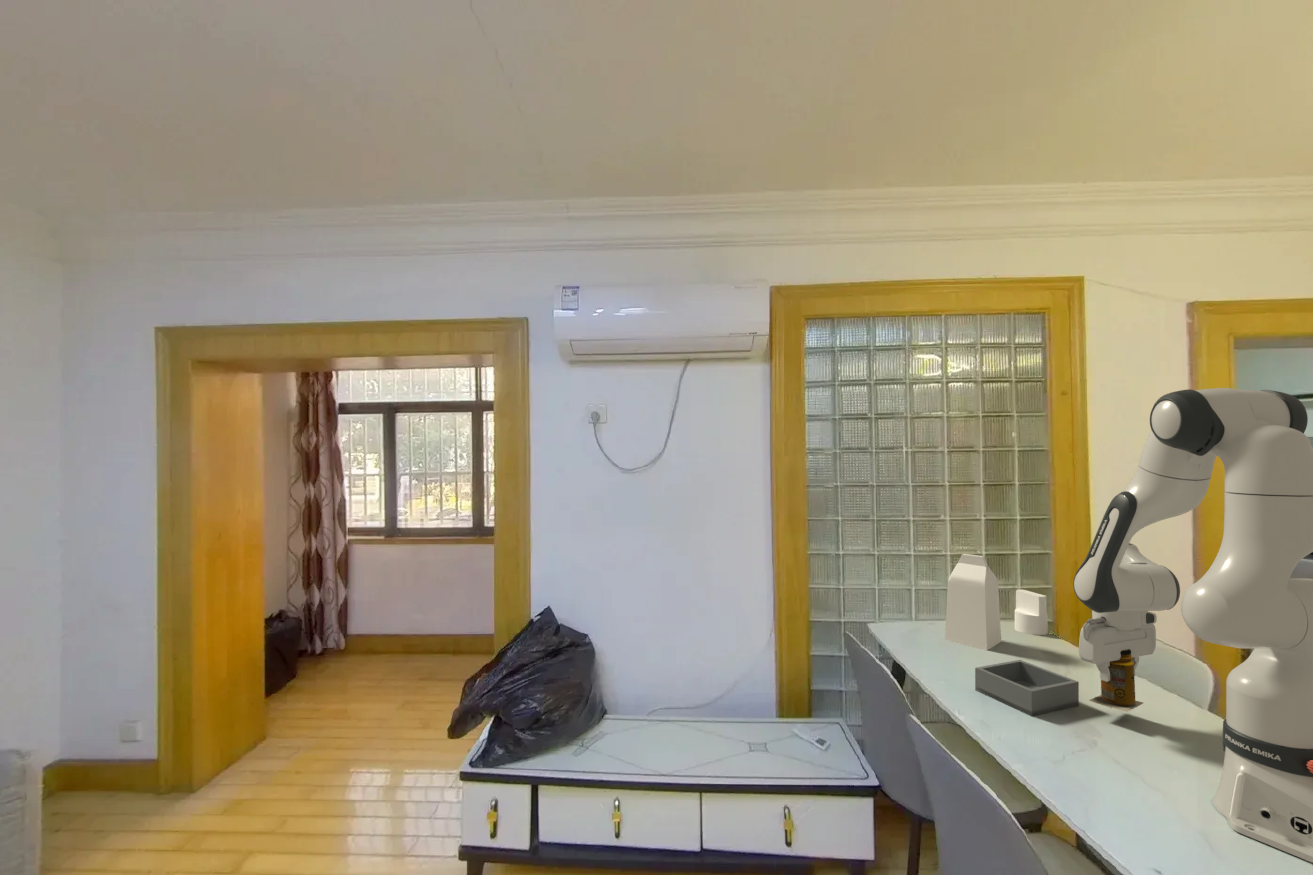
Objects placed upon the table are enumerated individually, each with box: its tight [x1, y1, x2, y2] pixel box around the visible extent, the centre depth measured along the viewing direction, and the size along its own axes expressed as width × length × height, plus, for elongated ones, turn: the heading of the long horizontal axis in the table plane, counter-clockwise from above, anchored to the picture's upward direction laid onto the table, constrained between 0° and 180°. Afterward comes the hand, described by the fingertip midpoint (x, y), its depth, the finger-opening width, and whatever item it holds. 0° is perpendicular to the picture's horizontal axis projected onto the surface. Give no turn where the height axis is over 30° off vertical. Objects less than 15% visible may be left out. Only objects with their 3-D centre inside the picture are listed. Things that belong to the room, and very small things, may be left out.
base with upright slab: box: [1014, 589, 1049, 636], centre depth 197 cm, size 9×9×12 cm
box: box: [974, 659, 1080, 717], centre depth 147 cm, size 15×15×6 cm
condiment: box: [1088, 649, 1144, 713], centre depth 136 cm, size 7×8×12 cm
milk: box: [944, 553, 1002, 651], centre depth 187 cm, size 12×12×26 cm
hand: (1117, 678), depth 137 cm, fingers closed on condiment, 6 cm apart
